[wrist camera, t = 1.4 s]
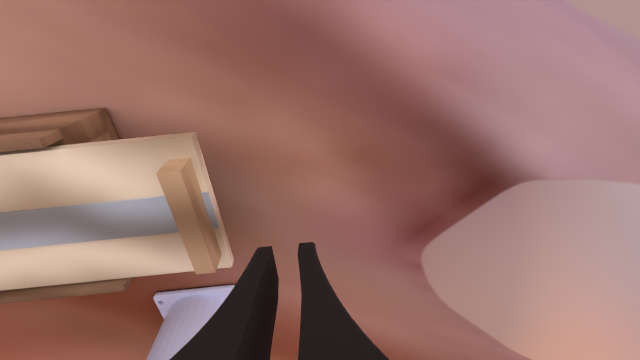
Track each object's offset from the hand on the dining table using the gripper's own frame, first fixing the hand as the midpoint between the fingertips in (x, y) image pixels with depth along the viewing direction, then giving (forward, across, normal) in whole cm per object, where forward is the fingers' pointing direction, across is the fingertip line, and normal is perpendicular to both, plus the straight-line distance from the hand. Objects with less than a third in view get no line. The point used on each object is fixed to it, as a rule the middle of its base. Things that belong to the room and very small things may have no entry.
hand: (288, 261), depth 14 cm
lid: (+6, +13, 0) cm, 14 cm away
